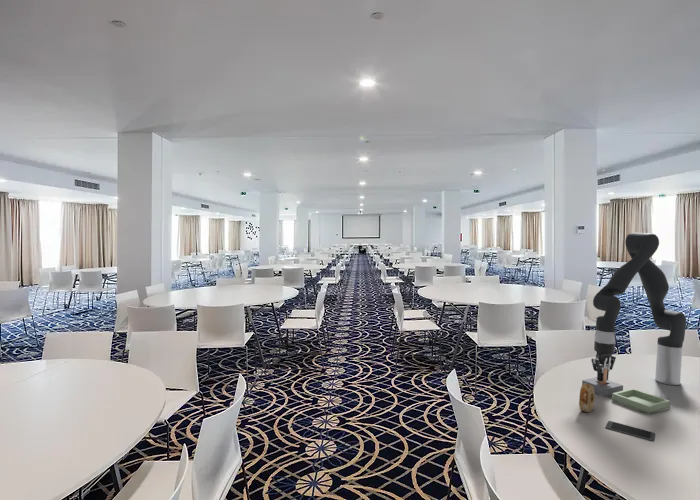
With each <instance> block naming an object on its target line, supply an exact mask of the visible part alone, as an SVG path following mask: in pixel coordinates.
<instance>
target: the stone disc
mask: <svg viewBox="0 0 700 500" xmlns="http://www.w3.org/2000/svg"><path fill="white" fill-rule="evenodd" d="M595 394H596V393H595V391H594V386H592V385H590V384H583V385H582V384H581V386H580V390H579V399H578V406H579V410H580V411H582V412H586V413H591V412H592V410H593V409H594V406H595V401H596V395H595Z"/></svg>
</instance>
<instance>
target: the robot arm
mask: <svg viewBox="0 0 700 500" xmlns="http://www.w3.org/2000/svg"><path fill="white" fill-rule="evenodd" d="M624 243H625V248H626V251H627V253H628V255H629V256H630V258H631V259H630V260H629V261H627V262H626V263H624V264H623V265H621V266H620V267H619V268H617V269H616V270H615V272H614V273H613V274H612V275H611V277H610V279H609V280H608V282H607V283H606V285H605V286H603V287H602V288H601V289H600V290H599V291H598V292H597V293H596V294H595V296H594V297H593V300H592V304H593V307H594V308H595V309H596V310H599V311H603V312H604V315H599V316H597V317H596V319H595V320H596V321H595V333H594V341H593V342H594V344H593V350H594V352H596V355H595V358H591V364H592V368H593V371H595V372H597V376H596V377H597V380H598V381H601V382H602V381H603V374H604V373H603V372H604V368H605V367H606V366H608V369H607V380H609V372H610V371H612V370H613V369H614V364H615V362H616V359H617V357H616V356H613V355H612V354H615V351H616V350H615V348H616V347H615V346H616V332H615V331H616V322H617V319H618V317H619V313H620V311H621V307H622V304H621V300H620V299H619V297H617V296H619V295H623V294H624V293H625V292H626V290H627V289H628V287H629V286H630V284H631V282H632V280H633V279H634V277H635V276H636V275H637V274H638V275H639V279H640V281H641V284H642V287H643V289H644V292H645V294H646V298H647V300H648V302H649V303H648V304H649V306H650V311H651V314H652V315H651V316H652V318H653V322H654V324H655V326H656V327H657V328H659V329H661V330H664V331H669V335H667V336H659V337H658V338H657V340H656V341H657V343H656V346H657V347H656V358H655V359H656V361H655V377H654V378H655V379H654V380H655V381H656V382H659V383H661V384H665V385H671V386H679V385H681V378H682V377H681V376H682V375H681V374H682V363H683V362H682V358H683V345H684V344H683V343H684V341H685V334H686V328H687V318H686V315H685V314H684V312H680V311H675V310H669V309H666V307H665V303H664V300H665V298H666V296H667V294H668V292H669V289H670V286H669V283H668V280H667V277H666V274H665V273H664V271H663V270H662V269H661V268H660V267H659V266H657V265H656V264H655V263H654V262H653V261H652V260H651V258H652V256H653V255H654V254H656V252H657V250H658V248H659V245H660V239H659V237H658V236H657V235H656V234H654V233H650V232H649V233H648V232H629V234H627V235H626V238H625V242H624ZM600 364H601V365H600ZM600 367H601V368H600Z"/></svg>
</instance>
